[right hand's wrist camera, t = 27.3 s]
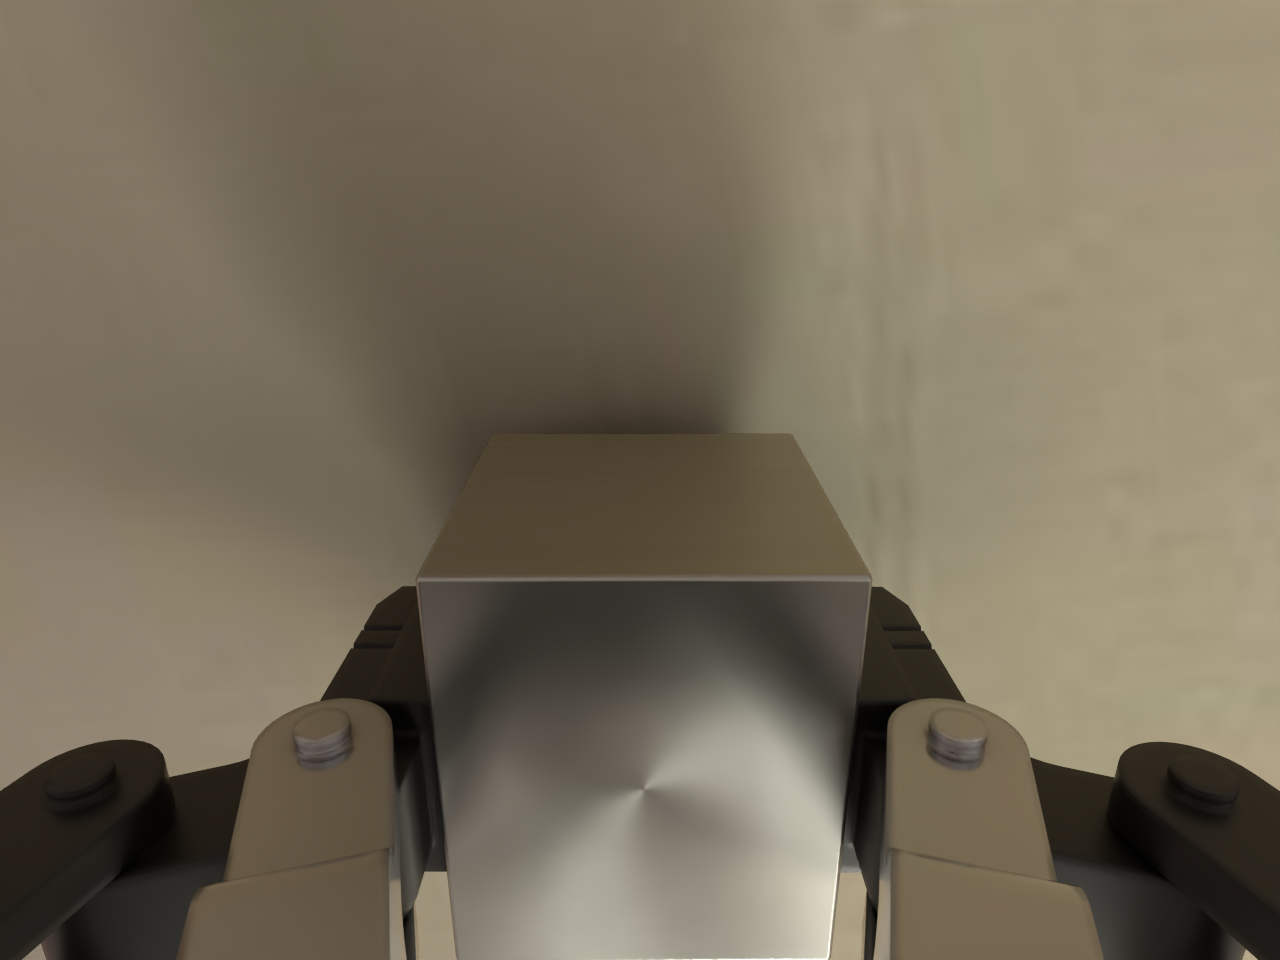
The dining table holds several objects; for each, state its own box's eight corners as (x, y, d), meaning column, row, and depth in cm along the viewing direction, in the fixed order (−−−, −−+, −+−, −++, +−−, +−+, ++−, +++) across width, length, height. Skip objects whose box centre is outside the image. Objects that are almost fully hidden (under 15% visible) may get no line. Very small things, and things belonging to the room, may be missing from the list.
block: (793, 432, 12) (875, 576, 8) (773, 720, 13) (832, 962, 9) (490, 432, 12) (413, 576, 8) (510, 721, 13) (455, 963, 9)
